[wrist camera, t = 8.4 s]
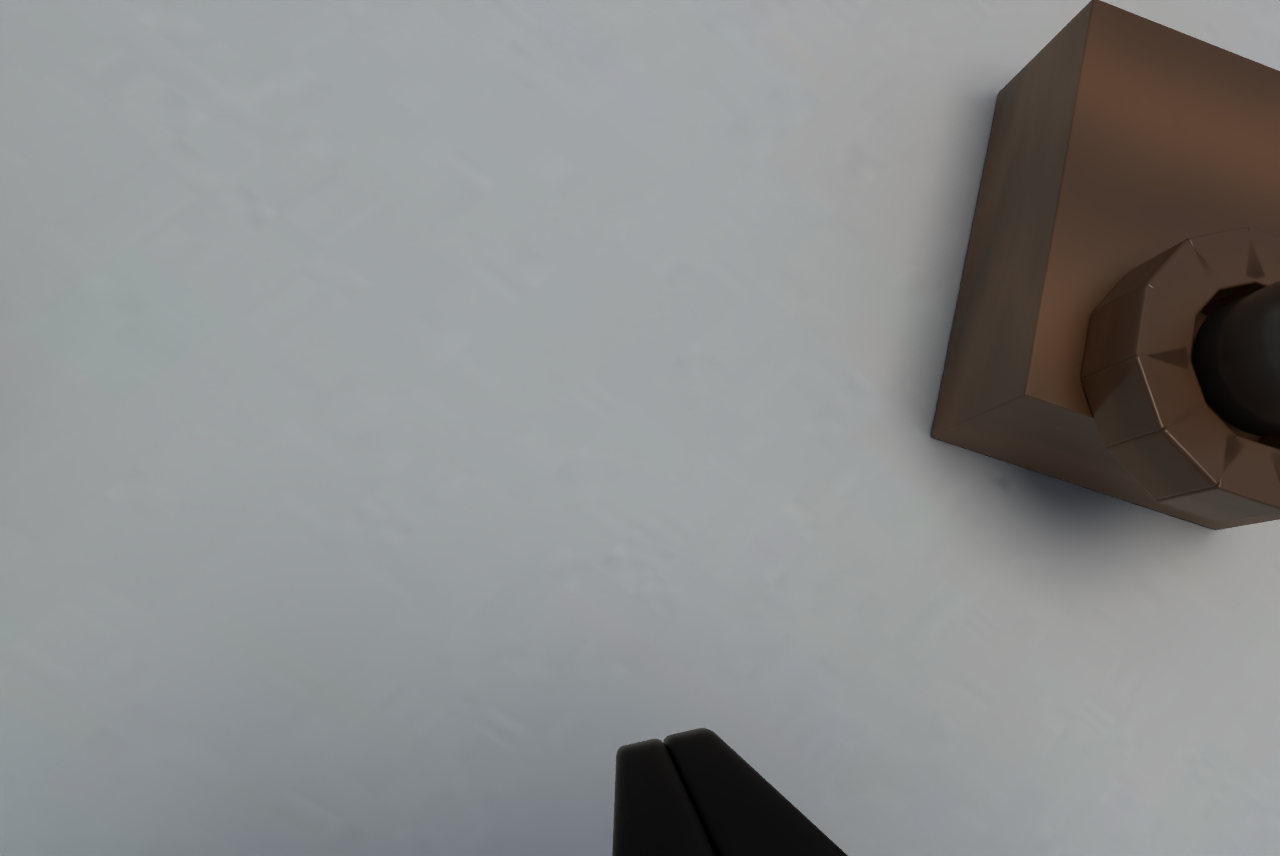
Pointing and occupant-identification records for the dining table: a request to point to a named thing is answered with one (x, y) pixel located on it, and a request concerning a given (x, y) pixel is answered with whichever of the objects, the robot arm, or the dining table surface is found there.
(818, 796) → the dining table surface
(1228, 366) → the bell button
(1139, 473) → the brown push button box
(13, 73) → the dining table surface
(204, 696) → the dining table surface
